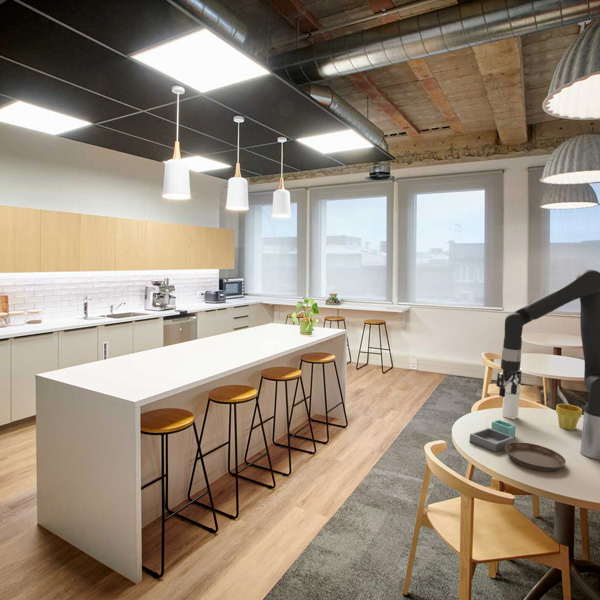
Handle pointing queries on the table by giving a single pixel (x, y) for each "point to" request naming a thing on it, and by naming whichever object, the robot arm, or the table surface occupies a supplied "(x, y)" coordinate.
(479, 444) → the grey rectangular tray
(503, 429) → the small crate
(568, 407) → the plant pot
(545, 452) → the plant saucer
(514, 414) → the cylindrical container
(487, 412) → the table surface
